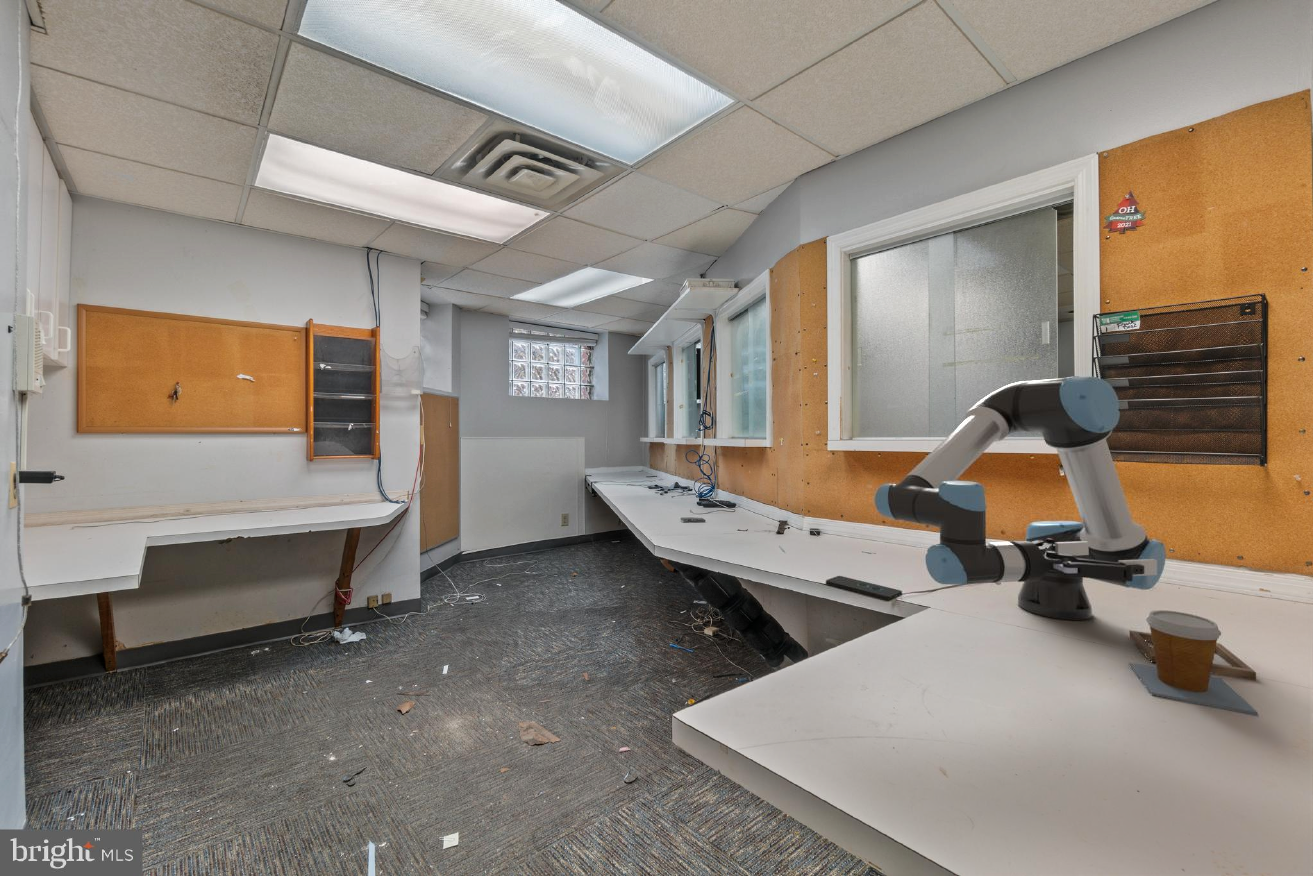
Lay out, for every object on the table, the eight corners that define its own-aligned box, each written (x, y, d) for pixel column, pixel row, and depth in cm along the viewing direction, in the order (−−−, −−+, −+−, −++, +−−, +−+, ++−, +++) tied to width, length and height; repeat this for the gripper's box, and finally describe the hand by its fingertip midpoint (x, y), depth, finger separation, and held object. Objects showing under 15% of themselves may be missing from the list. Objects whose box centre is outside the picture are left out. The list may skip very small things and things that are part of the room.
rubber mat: (1151, 695, 90) (1151, 692, 90) (1128, 664, 101) (1128, 662, 101) (1257, 715, 83) (1258, 712, 83) (1220, 680, 94) (1220, 678, 94)
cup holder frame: (1151, 662, 101) (1151, 655, 101) (1129, 636, 114) (1129, 630, 114) (1255, 680, 94) (1256, 672, 94) (1219, 650, 107) (1219, 643, 107)
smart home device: (889, 596, 139) (824, 580, 154) (889, 602, 139) (824, 585, 154) (903, 590, 144) (839, 574, 160) (903, 596, 144) (839, 580, 160)
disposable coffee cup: (1184, 671, 97) (1185, 609, 97) (1238, 697, 87) (1238, 629, 87) (1132, 670, 98) (1132, 609, 97) (1179, 696, 88) (1179, 628, 88)
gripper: (969, 562, 109) (1063, 558, 110) (1068, 604, 84) (1189, 598, 85) (968, 528, 108) (1063, 524, 109) (1068, 560, 84) (1189, 554, 84)
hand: (1118, 556), depth 97 cm, fingers open, 13 cm apart
